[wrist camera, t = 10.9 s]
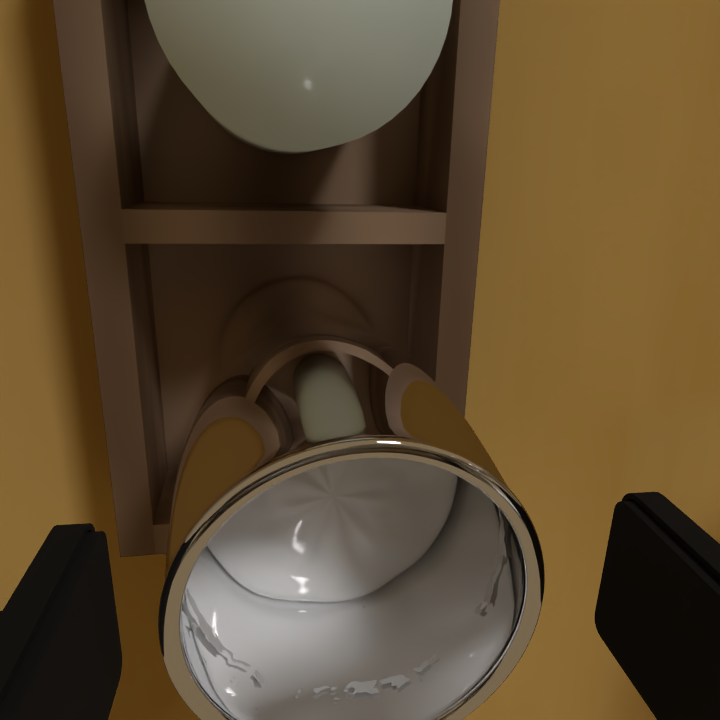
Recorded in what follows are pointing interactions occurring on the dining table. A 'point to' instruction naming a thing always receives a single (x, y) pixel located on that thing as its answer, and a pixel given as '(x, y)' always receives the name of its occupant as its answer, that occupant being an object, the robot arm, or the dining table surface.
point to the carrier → (256, 230)
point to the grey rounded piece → (301, 64)
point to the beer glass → (338, 531)
